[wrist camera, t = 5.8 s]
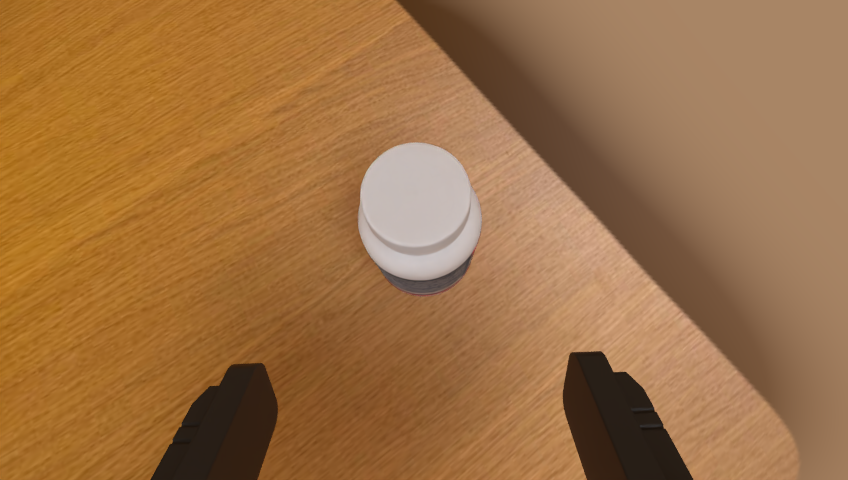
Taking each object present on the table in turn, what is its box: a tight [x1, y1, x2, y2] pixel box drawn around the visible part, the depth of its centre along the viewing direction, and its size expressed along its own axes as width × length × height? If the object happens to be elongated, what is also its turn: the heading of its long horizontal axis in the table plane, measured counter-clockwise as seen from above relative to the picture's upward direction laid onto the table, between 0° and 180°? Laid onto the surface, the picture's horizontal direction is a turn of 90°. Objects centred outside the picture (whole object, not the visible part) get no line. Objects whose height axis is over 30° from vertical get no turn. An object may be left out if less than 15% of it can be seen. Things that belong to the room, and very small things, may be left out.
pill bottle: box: [358, 142, 482, 296], centre depth 19 cm, size 5×5×9 cm
